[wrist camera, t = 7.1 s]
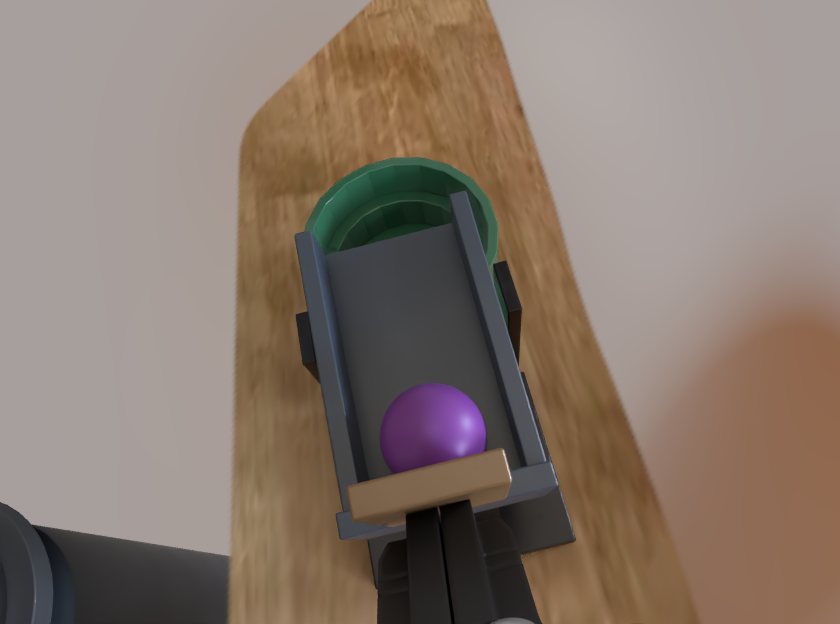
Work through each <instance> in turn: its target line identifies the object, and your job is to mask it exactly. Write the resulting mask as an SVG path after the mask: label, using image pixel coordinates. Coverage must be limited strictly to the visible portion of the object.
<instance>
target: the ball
mask: <svg viewBox="0 0 840 624" xmlns="http://www.w3.org/2000/svg"><path fill="white" fill-rule="evenodd" d="M486 444H487V432H486V426H485V422H484V419H483V417H482V414H481V412H480V410H479V409H478V407H477V406H476V404H475V403H474V402H473V401H472V400H471V399H470V398H469V397H468V396H467V395H466V394H465V393H463V392H462V391H460V390H458V389H456V388H454V387H452V386H449V385H445V384H440V383H426V384H421V385H417V386H415V387H412V388H410V389H408V390H406V391H405V392H403V393H402V394H400V395H399V396H398V397H397V398H396V399H395V400H394V401H393V402H392V403H391V405H390V406H389V408H388V409H387V411H386V413H385V415H384V418H383V420H382V424H381V429H380V446H381V451H382V454H383V458H384V460H385V462H386V464H387V466H388V467H389V469H390V470H391V472H392V473H393V474H397V473H401V472H405V471H409V470H413V469H417V468H421V467H425V466H429V465H433V464H437V463H441V462H445V461H449V460H453V459H457V458H461V457H465V456H469V455H473V454H477V453H481V452H485V450H486Z"/></svg>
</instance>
